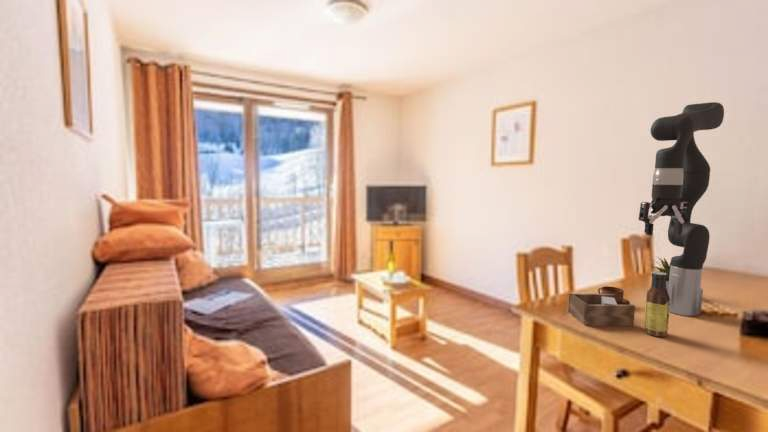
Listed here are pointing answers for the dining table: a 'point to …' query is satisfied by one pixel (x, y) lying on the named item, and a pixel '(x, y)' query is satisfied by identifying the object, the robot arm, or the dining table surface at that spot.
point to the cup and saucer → (617, 292)
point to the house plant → (664, 270)
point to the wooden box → (600, 311)
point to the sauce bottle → (657, 306)
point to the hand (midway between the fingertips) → (662, 235)
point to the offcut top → (608, 301)
